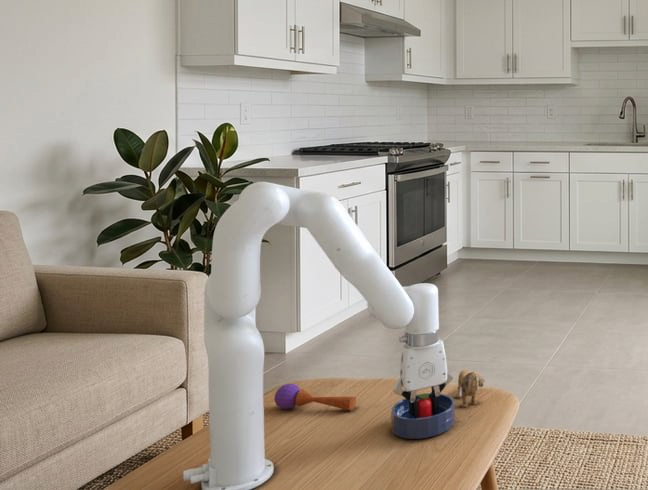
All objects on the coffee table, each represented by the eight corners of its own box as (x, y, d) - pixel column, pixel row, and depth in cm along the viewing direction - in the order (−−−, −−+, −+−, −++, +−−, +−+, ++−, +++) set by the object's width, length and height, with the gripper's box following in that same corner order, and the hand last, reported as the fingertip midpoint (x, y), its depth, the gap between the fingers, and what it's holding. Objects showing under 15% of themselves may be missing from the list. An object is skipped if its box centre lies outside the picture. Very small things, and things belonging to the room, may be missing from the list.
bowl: (400, 447, 147) (400, 425, 147) (385, 422, 159) (385, 402, 159) (463, 430, 155) (462, 409, 155) (443, 408, 167) (443, 388, 167)
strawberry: (418, 419, 154) (417, 400, 154) (413, 413, 157) (413, 394, 157) (434, 415, 156) (434, 396, 156) (429, 409, 159) (429, 390, 159)
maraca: (346, 400, 162) (268, 391, 164) (347, 421, 164) (270, 412, 165) (358, 385, 168) (283, 377, 170) (358, 406, 170) (284, 398, 171)
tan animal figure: (487, 407, 167) (487, 372, 167) (467, 413, 164) (466, 377, 164) (467, 388, 179) (466, 355, 179) (447, 392, 176) (447, 359, 176)
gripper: (390, 349, 149) (391, 430, 149) (462, 335, 158) (463, 411, 158) (382, 339, 155) (383, 417, 155) (451, 326, 164) (453, 400, 165)
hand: (424, 413), depth 157 cm, fingers closed on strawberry, 3 cm apart
